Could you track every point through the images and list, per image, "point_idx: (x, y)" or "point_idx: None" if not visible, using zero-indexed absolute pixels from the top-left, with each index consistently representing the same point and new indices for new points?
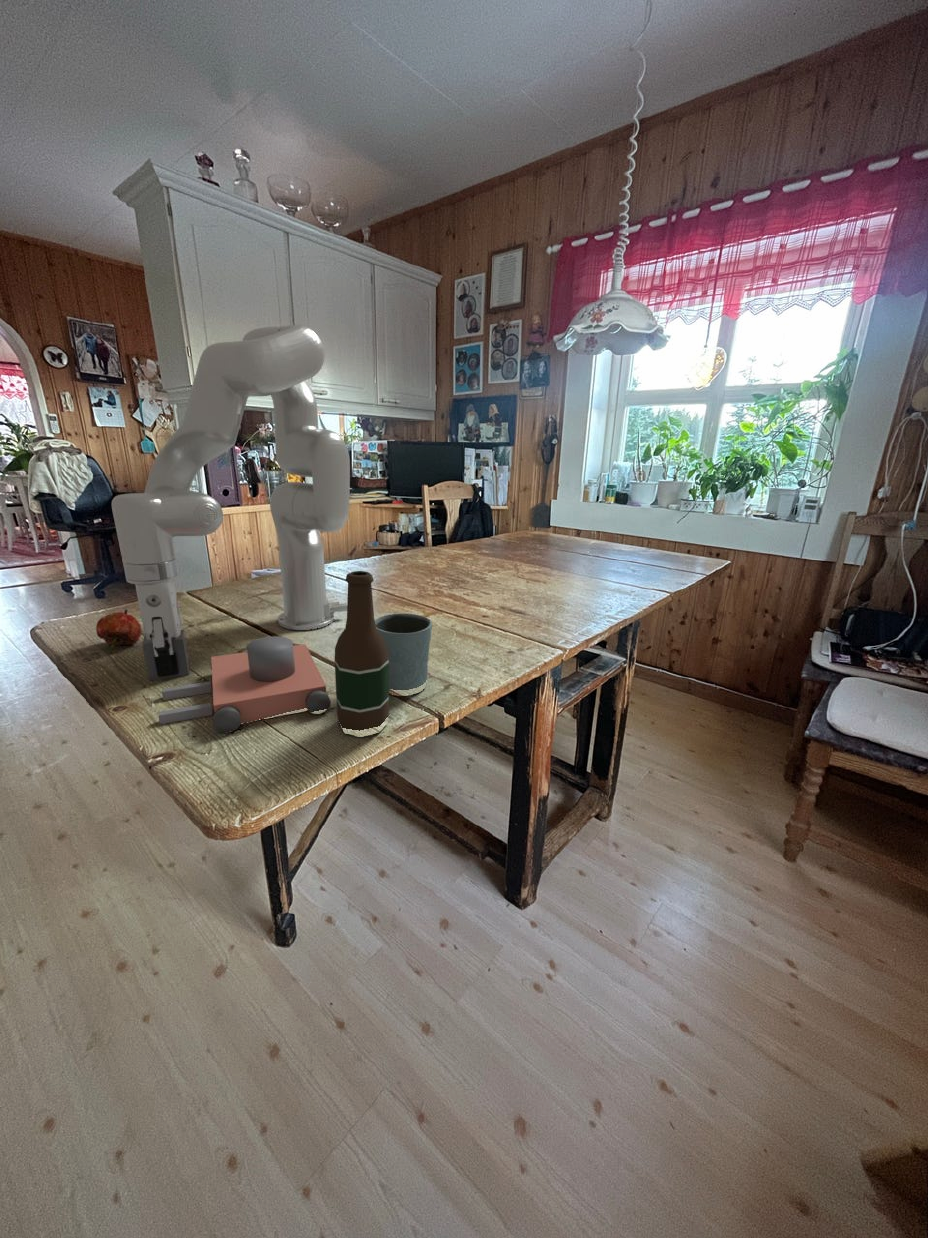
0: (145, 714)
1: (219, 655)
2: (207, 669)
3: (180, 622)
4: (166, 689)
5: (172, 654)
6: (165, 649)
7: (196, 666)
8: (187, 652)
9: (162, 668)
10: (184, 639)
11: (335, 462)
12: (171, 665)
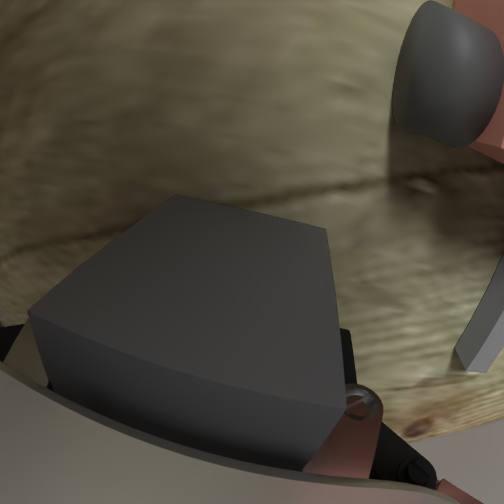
0: (498, 387)
1: (460, 68)
2: (304, 126)
3: (57, 478)
4: (482, 360)
5: (373, 397)
6: (442, 479)
7: (226, 168)
8: (146, 218)
9: None
10: (156, 303)
11: None
12: (350, 350)
